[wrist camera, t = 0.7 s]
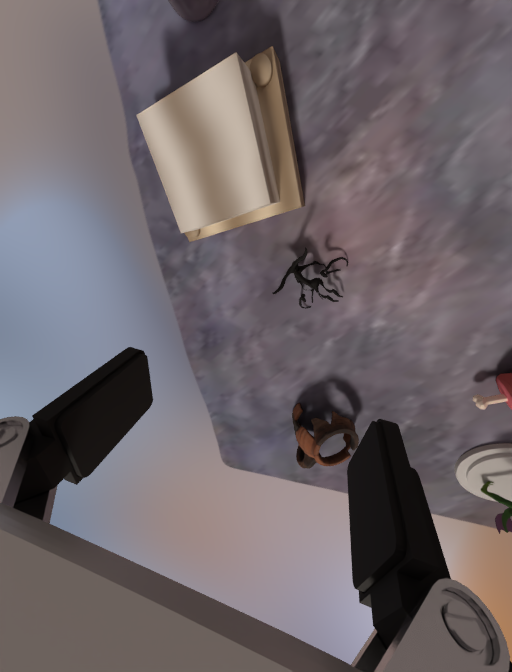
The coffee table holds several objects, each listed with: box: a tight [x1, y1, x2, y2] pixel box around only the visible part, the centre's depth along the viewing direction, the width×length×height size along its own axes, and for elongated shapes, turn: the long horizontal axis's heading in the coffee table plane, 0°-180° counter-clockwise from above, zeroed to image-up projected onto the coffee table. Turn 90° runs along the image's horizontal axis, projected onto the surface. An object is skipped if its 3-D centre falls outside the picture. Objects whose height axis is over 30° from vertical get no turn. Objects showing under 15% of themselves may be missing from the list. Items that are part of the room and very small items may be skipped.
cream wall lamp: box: [137, 46, 305, 242], centre depth 24 cm, size 14×12×7 cm
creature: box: [273, 248, 348, 308], centre depth 28 cm, size 8×5×8 cm
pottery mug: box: [292, 403, 359, 468], centre depth 40 cm, size 12×10×8 cm
